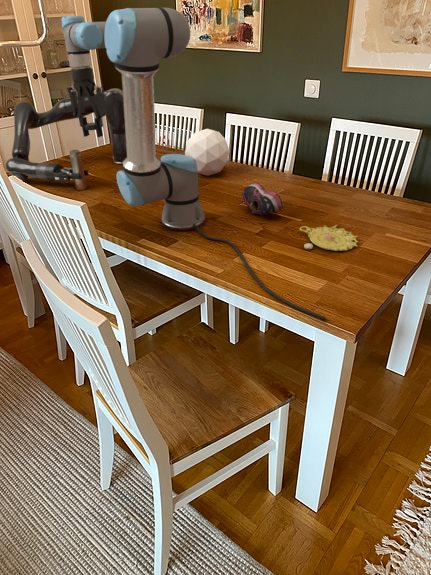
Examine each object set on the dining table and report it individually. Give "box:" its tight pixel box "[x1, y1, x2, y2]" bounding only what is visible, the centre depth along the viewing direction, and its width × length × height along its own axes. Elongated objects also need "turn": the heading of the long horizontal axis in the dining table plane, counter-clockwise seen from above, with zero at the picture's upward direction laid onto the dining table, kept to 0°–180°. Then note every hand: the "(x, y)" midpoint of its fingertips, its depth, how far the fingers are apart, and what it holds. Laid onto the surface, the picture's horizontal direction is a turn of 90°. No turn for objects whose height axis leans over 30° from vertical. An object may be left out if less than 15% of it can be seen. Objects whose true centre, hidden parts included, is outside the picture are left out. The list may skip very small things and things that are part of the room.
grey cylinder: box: [68, 149, 88, 191], centre depth 184 cm, size 4×4×16 cm
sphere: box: [184, 128, 231, 177], centre depth 195 cm, size 19×20×20 cm
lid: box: [84, 122, 96, 131], centre depth 165 cm, size 5×5×2 cm
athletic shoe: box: [238, 182, 284, 217], centre depth 160 cm, size 11×22×12 cm
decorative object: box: [299, 224, 359, 252], centre depth 141 cm, size 21×2×20 cm
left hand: (84, 175), depth 185 cm, fingers closed on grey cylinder, 4 cm apart
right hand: (93, 136), depth 167 cm, fingers closed on lid, 5 cm apart
